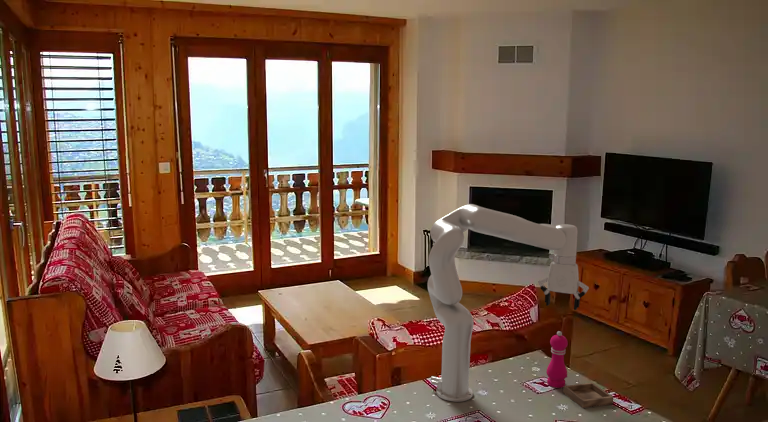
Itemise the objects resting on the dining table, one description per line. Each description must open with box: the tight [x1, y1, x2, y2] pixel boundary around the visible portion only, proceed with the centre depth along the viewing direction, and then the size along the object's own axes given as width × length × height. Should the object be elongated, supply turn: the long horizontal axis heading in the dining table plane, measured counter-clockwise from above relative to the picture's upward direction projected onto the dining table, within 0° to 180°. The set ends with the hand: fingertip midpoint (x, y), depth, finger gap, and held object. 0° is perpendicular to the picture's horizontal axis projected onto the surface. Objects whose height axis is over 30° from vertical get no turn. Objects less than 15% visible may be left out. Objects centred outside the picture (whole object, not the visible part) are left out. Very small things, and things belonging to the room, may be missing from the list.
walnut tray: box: [563, 382, 614, 409], centre depth 205 cm, size 12×12×3 cm
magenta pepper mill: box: [546, 330, 568, 389], centre depth 215 cm, size 7×7×20 cm
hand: (561, 306), depth 212 cm, fingers open, 9 cm apart
